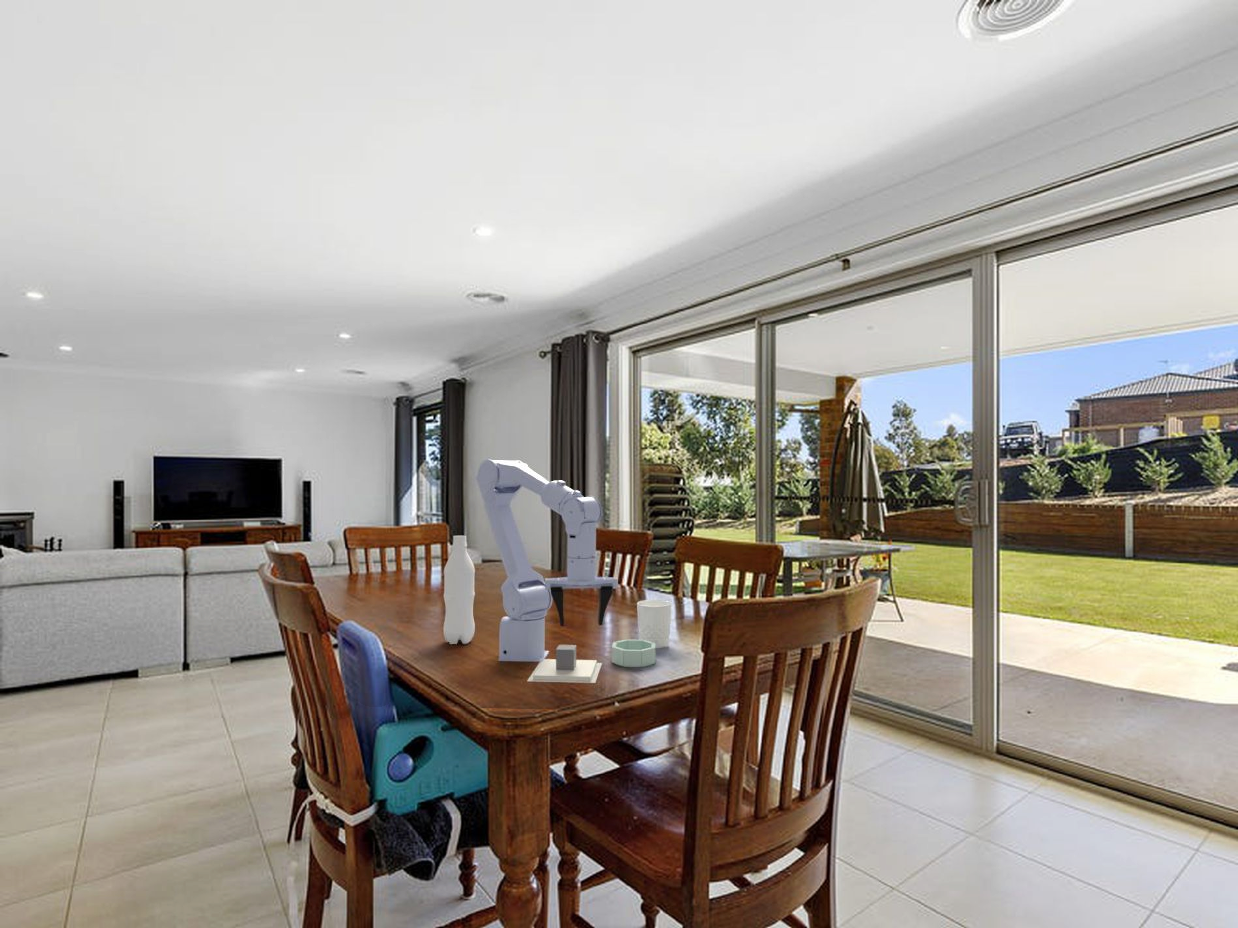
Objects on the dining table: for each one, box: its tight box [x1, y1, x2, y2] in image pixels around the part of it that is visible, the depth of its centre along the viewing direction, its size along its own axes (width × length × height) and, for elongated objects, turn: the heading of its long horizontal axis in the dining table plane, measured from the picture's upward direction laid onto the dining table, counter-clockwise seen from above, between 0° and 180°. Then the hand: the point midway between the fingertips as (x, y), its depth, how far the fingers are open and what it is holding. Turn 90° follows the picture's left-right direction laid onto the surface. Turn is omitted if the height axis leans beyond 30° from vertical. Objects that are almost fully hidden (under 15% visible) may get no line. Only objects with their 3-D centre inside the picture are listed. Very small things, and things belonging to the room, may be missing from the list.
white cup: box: [636, 599, 672, 649], centre depth 150 cm, size 8×8×10 cm
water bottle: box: [442, 535, 476, 645], centre depth 154 cm, size 7×7×25 cm
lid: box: [533, 644, 598, 681], centre depth 129 cm, size 11×11×5 cm
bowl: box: [611, 639, 656, 668], centre depth 137 cm, size 9×9×4 cm
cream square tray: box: [526, 661, 603, 684], centre depth 129 cm, size 13×13×1 cm
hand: (581, 624), depth 131 cm, fingers open, 7 cm apart
